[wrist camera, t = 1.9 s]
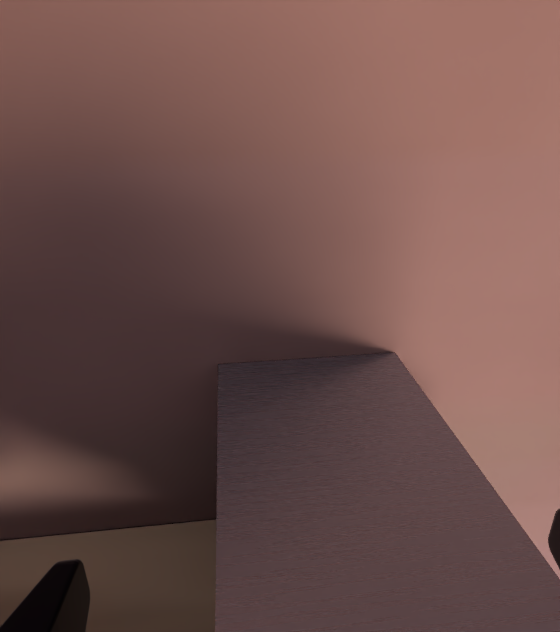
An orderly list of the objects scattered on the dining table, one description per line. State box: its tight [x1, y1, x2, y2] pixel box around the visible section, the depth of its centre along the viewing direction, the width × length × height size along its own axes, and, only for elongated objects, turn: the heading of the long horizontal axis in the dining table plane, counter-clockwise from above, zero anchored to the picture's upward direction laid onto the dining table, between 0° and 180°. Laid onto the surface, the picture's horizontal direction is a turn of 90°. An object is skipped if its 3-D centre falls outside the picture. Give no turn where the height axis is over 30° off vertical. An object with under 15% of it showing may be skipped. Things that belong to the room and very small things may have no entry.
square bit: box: [215, 353, 560, 632], centre depth 7 cm, size 4×4×8 cm
